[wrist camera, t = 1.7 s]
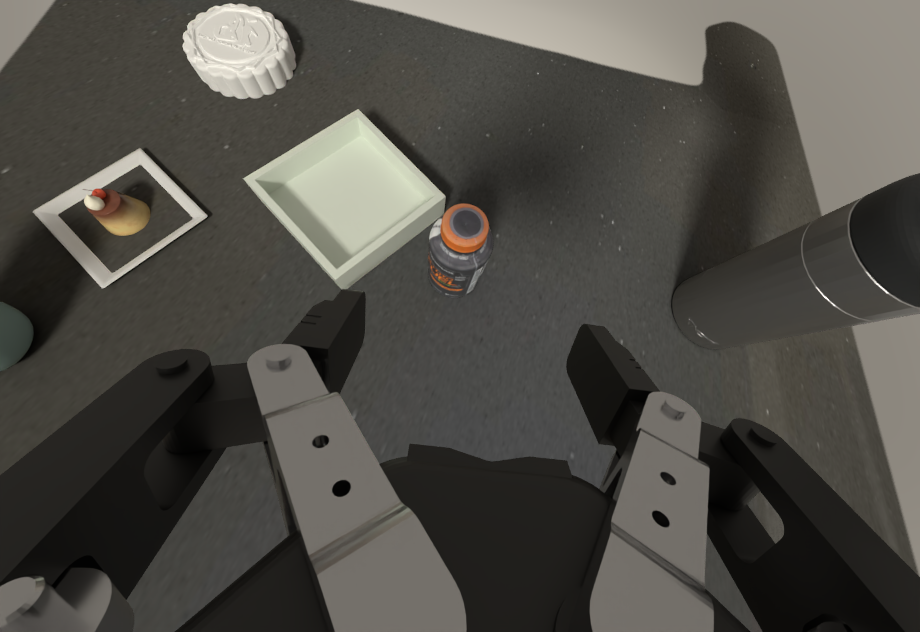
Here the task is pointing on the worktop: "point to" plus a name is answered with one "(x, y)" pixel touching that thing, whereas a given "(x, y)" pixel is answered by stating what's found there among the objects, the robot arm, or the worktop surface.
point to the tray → (348, 197)
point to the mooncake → (240, 50)
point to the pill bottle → (459, 250)
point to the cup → (13, 335)
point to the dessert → (114, 213)
